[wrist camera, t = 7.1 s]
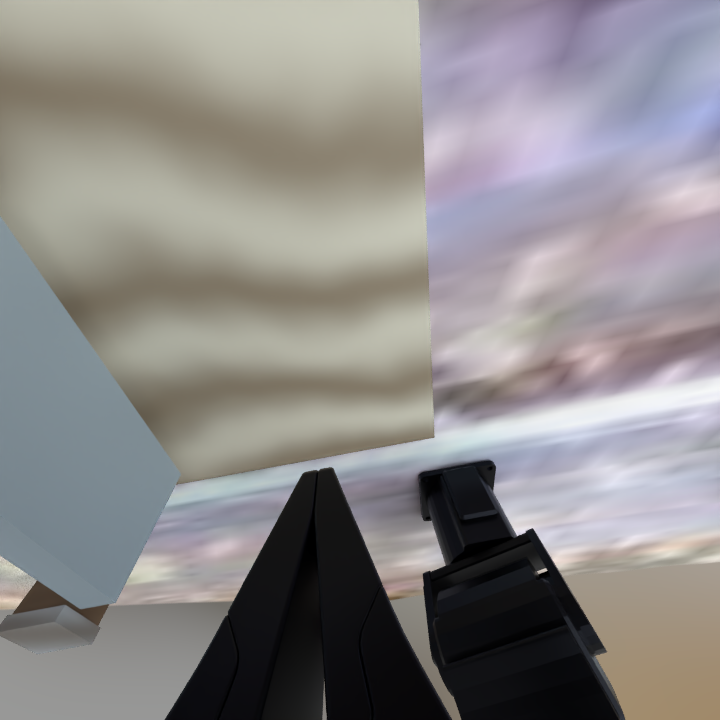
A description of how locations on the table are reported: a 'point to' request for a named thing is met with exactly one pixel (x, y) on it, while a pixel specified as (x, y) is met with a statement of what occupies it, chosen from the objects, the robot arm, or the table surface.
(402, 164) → the base board
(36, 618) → the latch post
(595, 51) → the table surface
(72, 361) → the gate
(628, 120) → the table surface
